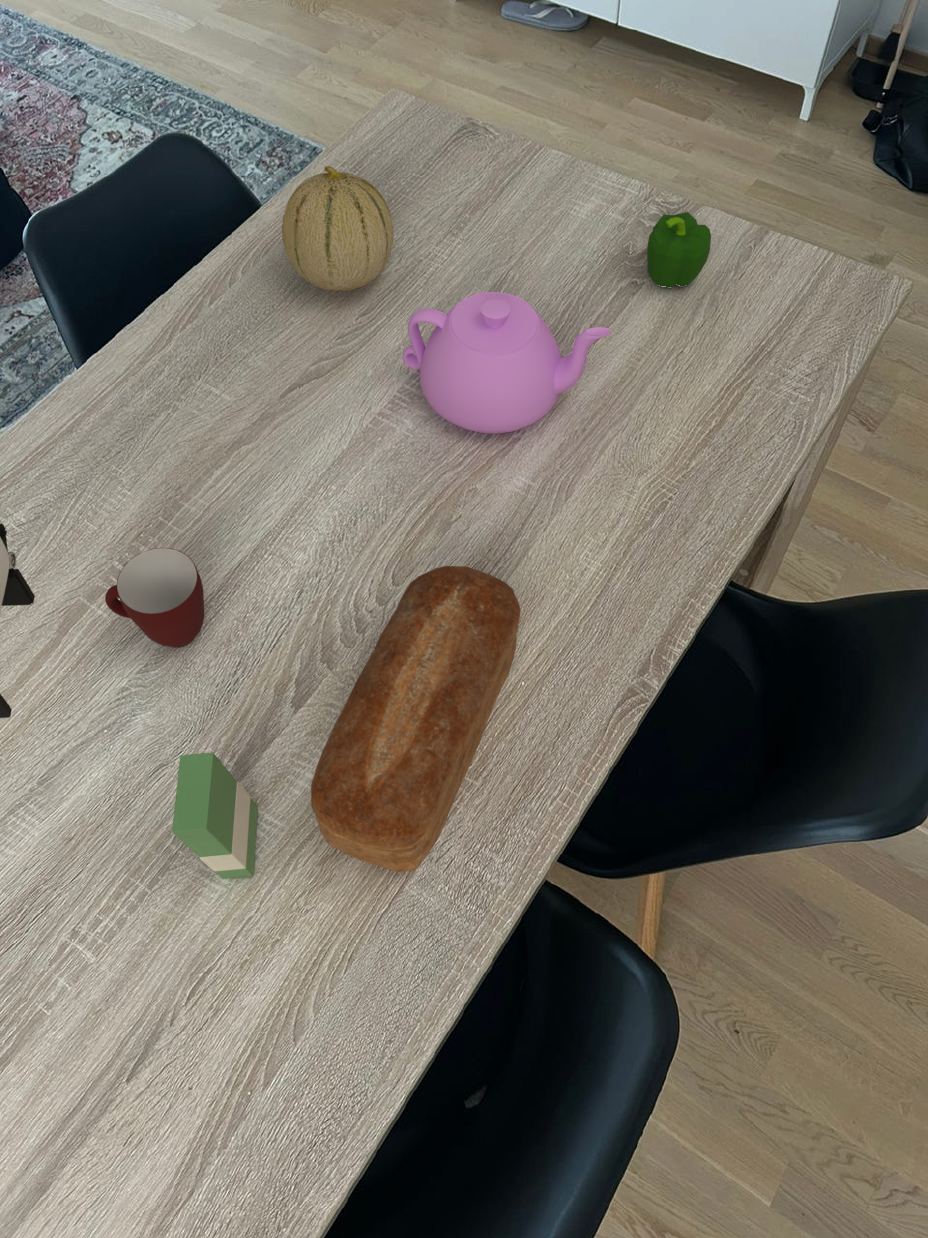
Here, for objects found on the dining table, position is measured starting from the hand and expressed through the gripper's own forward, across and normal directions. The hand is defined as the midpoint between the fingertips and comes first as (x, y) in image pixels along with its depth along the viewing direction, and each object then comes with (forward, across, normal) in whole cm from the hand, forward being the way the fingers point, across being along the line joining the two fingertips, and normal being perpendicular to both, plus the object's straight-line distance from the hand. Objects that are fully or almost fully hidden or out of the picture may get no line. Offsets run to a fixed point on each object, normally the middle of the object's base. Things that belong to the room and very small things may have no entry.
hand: (2, 656), depth 78 cm
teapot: (+28, -53, +42) cm, 73 cm away
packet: (+22, +5, +11) cm, 25 cm away
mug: (+28, -19, +4) cm, 34 cm away
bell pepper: (+28, -74, +67) cm, 104 cm away
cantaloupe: (+28, -75, +22) cm, 83 cm away
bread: (+28, -6, +31) cm, 43 cm away
